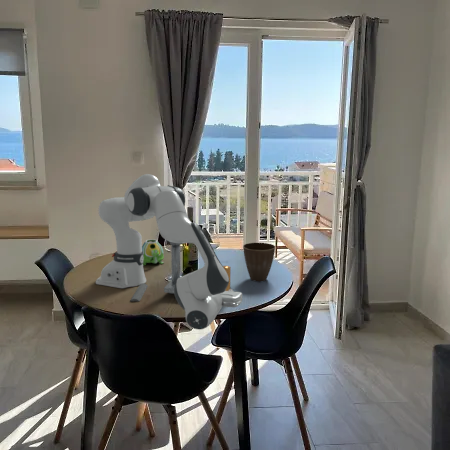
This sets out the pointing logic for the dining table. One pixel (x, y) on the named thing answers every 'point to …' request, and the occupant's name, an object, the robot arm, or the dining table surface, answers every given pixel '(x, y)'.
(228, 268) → the wedge pin
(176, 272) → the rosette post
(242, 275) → the dining table surface
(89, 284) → the dining table surface
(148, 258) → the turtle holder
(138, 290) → the gray half cylinder
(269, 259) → the plant pot
